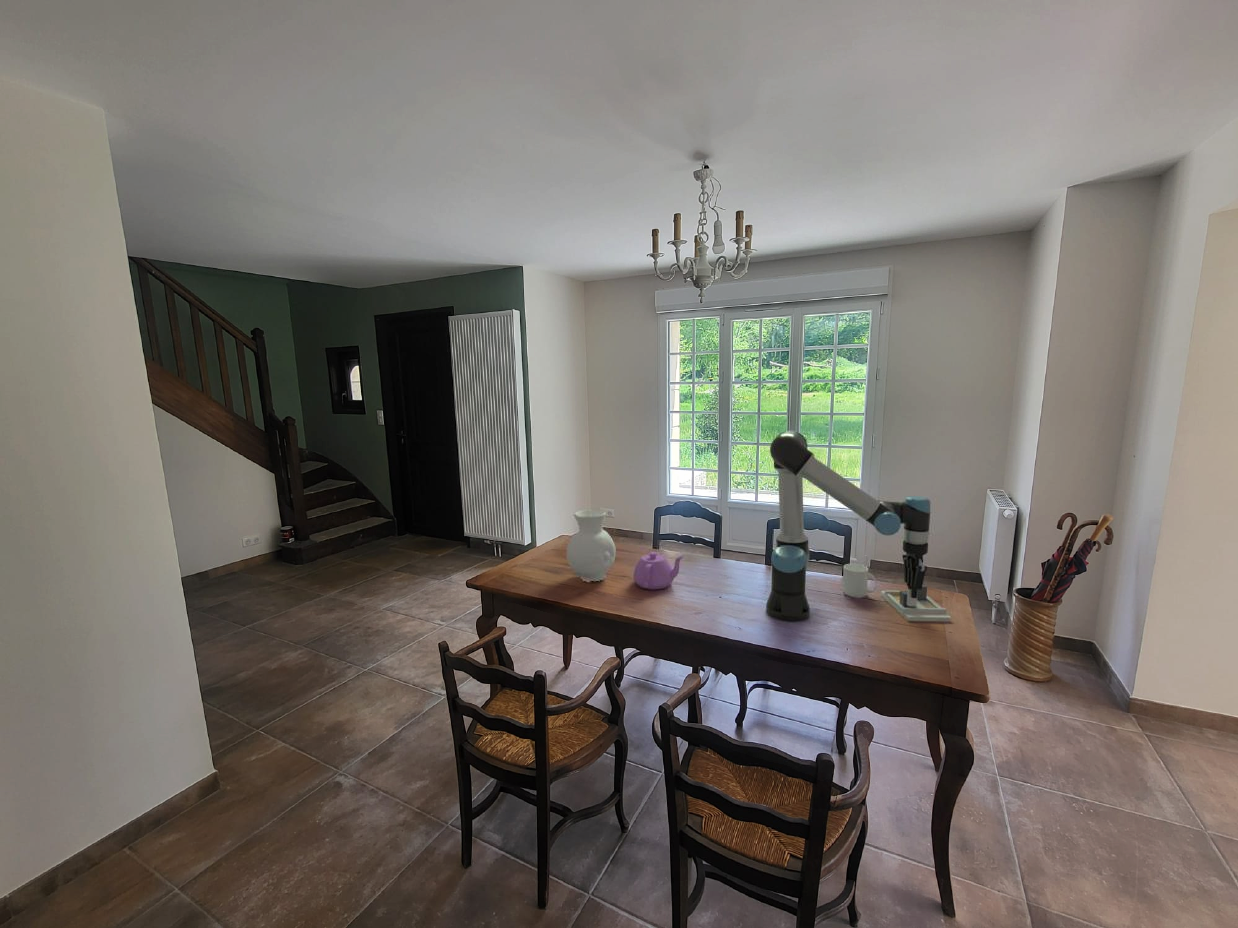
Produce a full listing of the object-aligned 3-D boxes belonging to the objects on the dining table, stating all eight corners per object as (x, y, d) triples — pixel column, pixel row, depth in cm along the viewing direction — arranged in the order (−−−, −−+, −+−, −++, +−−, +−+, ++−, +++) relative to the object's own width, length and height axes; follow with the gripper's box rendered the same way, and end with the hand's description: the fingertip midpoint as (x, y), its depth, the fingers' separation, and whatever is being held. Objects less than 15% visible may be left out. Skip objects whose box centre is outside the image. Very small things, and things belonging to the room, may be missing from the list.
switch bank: (907, 620, 173) (908, 612, 173) (880, 594, 195) (881, 587, 194) (950, 621, 172) (951, 613, 172) (918, 594, 194) (919, 587, 193)
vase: (623, 574, 224) (621, 509, 220) (596, 591, 207) (593, 521, 202) (590, 567, 234) (587, 504, 230) (561, 583, 217) (557, 515, 212)
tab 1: (903, 607, 180) (904, 594, 179) (899, 603, 183) (900, 590, 182) (914, 607, 179) (915, 594, 179) (910, 603, 182) (911, 590, 182)
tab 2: (914, 599, 186) (915, 586, 185) (910, 596, 188) (911, 583, 188) (926, 599, 185) (927, 586, 184) (922, 596, 188) (922, 583, 187)
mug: (874, 602, 189) (875, 575, 187) (840, 594, 196) (841, 568, 194) (878, 594, 195) (880, 567, 194) (845, 587, 203) (846, 562, 201)
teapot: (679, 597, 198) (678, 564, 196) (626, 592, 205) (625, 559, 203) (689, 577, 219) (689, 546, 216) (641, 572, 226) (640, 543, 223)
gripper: (936, 547, 167) (932, 613, 171) (917, 535, 180) (914, 597, 184) (913, 547, 168) (909, 613, 172) (895, 535, 181) (892, 597, 184)
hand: (911, 605), depth 178 cm, fingers closed
